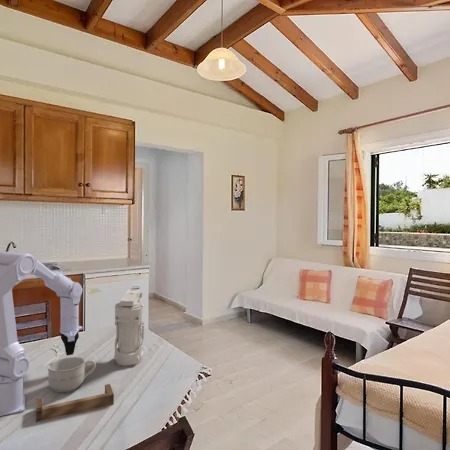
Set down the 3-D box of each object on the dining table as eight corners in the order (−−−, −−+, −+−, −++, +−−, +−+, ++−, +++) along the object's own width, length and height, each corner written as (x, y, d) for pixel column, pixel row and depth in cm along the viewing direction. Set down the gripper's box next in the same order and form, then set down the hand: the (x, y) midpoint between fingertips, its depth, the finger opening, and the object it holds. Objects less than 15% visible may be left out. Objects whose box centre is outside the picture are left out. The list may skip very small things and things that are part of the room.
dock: (36, 422, 94) (35, 411, 94) (36, 409, 100) (36, 398, 100) (113, 404, 103) (113, 394, 103) (109, 393, 109) (109, 383, 109)
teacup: (44, 398, 105) (44, 372, 105) (51, 381, 116) (51, 357, 115) (94, 392, 109) (94, 367, 109) (96, 376, 120) (96, 353, 119)
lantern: (139, 366, 127) (140, 298, 126) (110, 366, 127) (111, 297, 126) (147, 351, 140) (148, 289, 139) (121, 351, 140) (121, 288, 139)
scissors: (81, 344, 145) (62, 365, 125) (81, 345, 145) (62, 368, 126) (54, 344, 145) (31, 366, 125) (54, 346, 145) (31, 368, 125)
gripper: (84, 320, 117) (84, 360, 118) (80, 308, 130) (80, 344, 131) (60, 323, 114) (61, 364, 115) (58, 311, 127) (59, 347, 128)
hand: (69, 354), depth 123 cm, fingers closed
